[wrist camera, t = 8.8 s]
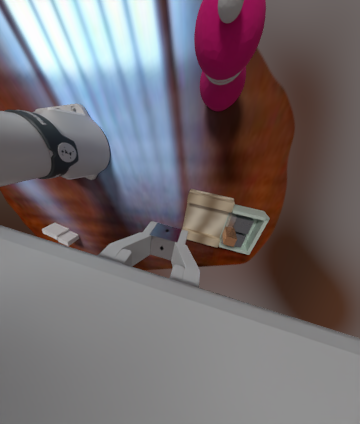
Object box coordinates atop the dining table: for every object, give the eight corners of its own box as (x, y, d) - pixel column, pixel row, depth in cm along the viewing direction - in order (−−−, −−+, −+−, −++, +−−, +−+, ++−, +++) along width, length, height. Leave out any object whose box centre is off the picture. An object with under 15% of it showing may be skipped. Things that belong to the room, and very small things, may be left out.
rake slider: (218, 236, 39) (219, 253, 33) (228, 210, 35) (231, 224, 29) (226, 238, 39) (228, 256, 33) (237, 212, 35) (242, 227, 29)
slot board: (182, 232, 43) (180, 237, 41) (190, 188, 36) (188, 192, 34) (217, 241, 42) (217, 248, 39) (233, 198, 35) (235, 203, 32)
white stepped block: (50, 223, 58) (34, 230, 53) (60, 212, 54) (45, 219, 49) (75, 247, 62) (63, 256, 58) (88, 239, 58) (76, 248, 53)
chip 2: (225, 237, 39) (225, 243, 37) (229, 226, 37) (230, 232, 35) (239, 240, 39) (240, 247, 36) (244, 229, 37) (246, 236, 34)
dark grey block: (230, 224, 37) (231, 230, 34) (235, 212, 35) (237, 217, 33) (245, 228, 37) (247, 234, 34) (251, 215, 35) (254, 221, 32)
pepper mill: (240, 109, 26) (288, 46, 9) (203, 118, 28) (186, 80, 11) (241, 59, 23) (315, -177, 6) (200, 73, 25) (168, -75, 8)
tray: (218, 238, 41) (218, 246, 38) (231, 203, 35) (233, 210, 32) (245, 245, 40) (248, 255, 37) (264, 211, 34) (269, 218, 31)
